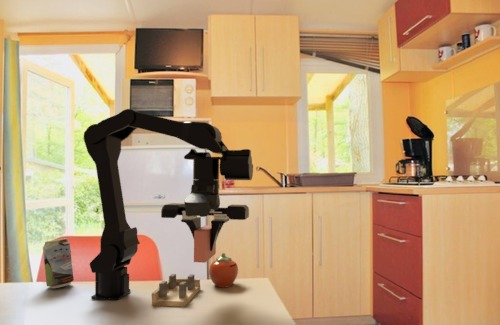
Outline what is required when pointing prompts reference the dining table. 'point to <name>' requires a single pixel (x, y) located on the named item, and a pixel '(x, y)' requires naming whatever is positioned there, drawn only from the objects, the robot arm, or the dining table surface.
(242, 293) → the dining table surface
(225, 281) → the tomato
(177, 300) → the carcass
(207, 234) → the pink rectangular block
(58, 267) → the printed carton
